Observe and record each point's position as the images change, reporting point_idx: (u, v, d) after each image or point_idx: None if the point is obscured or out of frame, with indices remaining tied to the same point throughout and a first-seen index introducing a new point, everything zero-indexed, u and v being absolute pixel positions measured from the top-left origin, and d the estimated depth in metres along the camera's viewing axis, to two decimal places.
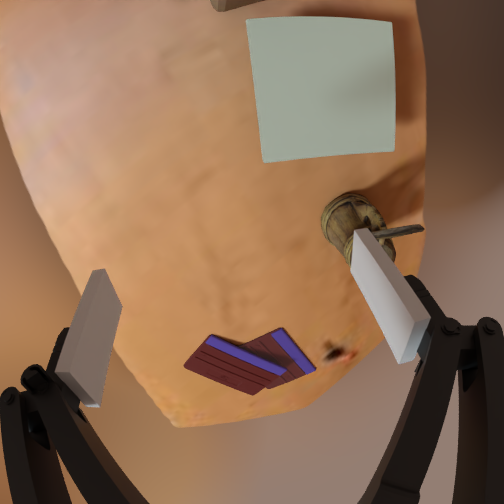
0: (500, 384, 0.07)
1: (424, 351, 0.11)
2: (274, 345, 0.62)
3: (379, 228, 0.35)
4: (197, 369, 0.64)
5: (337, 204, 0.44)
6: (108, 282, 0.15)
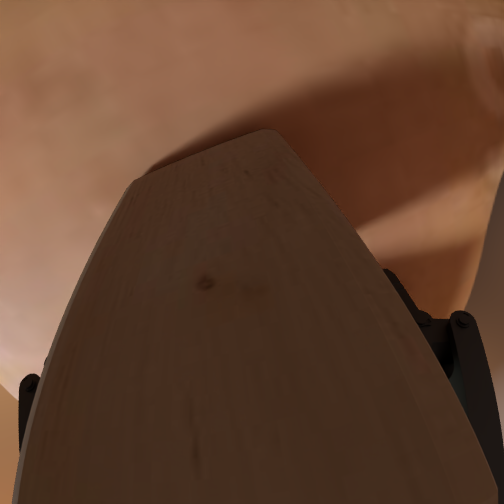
0: (479, 377, 0.08)
1: None
2: None
3: None
4: None
5: None
6: None
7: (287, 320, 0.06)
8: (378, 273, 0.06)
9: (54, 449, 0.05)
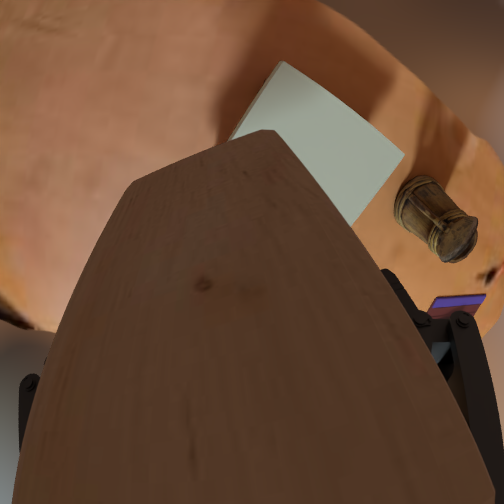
0: (479, 377, 0.08)
1: None
2: (441, 310, 0.58)
3: (443, 231, 0.31)
4: None
5: (400, 208, 0.40)
6: None
7: (285, 321, 0.06)
8: (375, 274, 0.06)
9: (53, 450, 0.05)
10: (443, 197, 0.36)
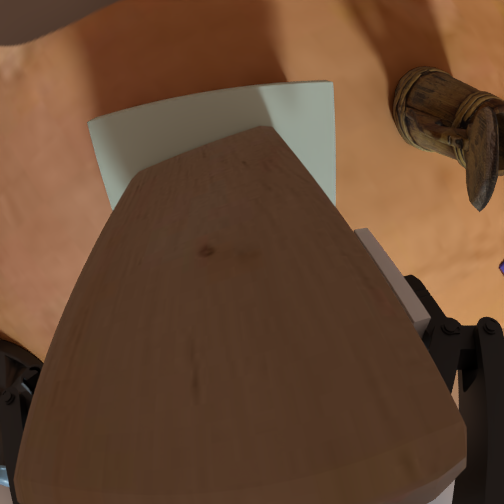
0: (501, 384, 0.07)
1: None
2: None
3: (463, 149, 0.17)
4: None
5: (406, 133, 0.26)
6: None
7: (275, 276, 0.07)
8: (354, 241, 0.08)
9: (65, 396, 0.06)
10: (445, 87, 0.20)
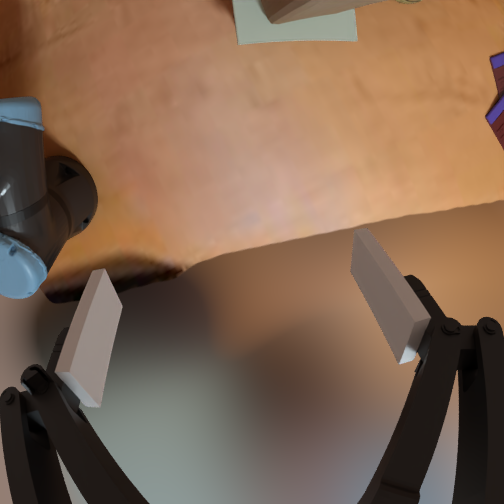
0: (501, 384, 0.07)
1: (424, 351, 0.11)
2: (503, 69, 0.41)
3: None
4: None
5: None
6: (108, 282, 0.15)
7: None
8: None
9: None
10: None
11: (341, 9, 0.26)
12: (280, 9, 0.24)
